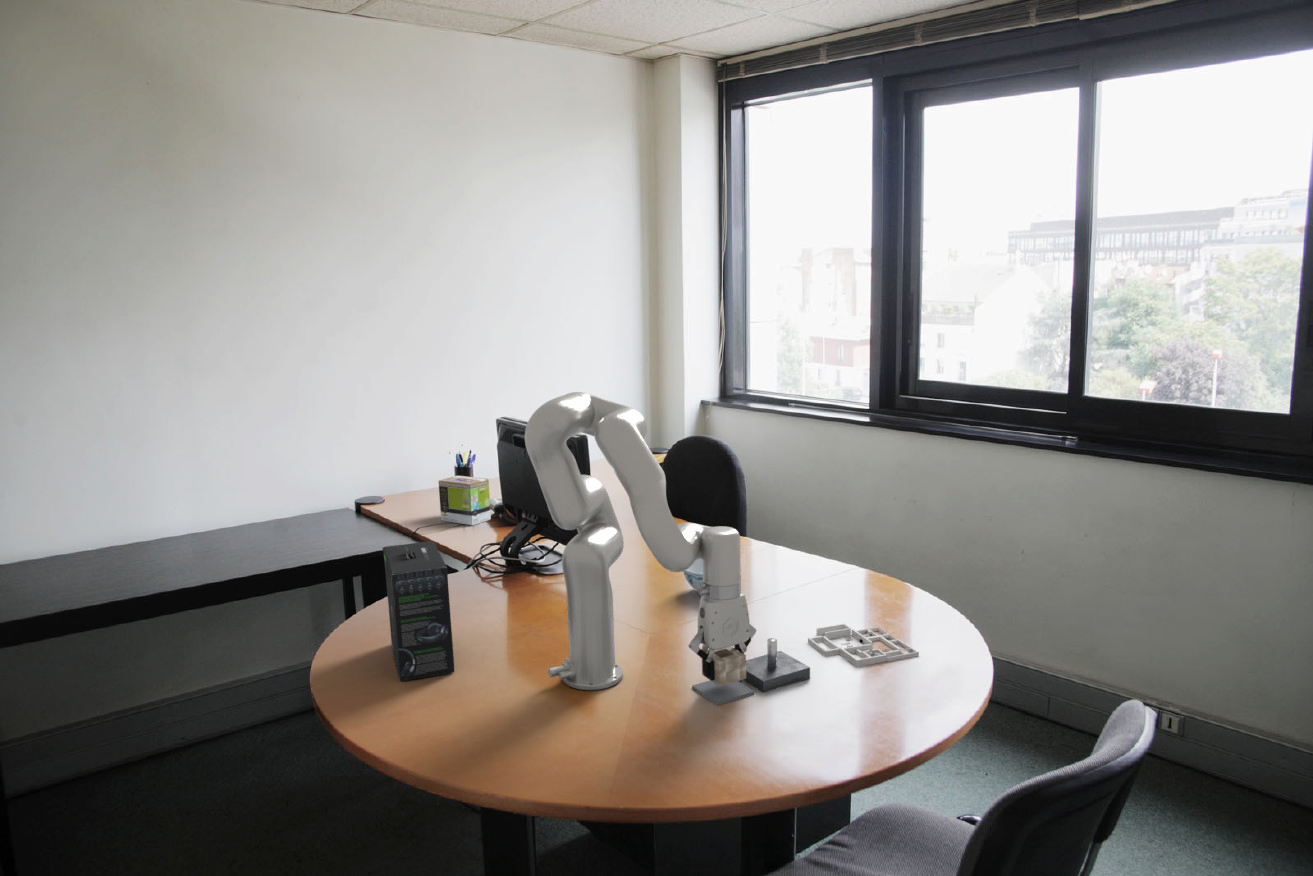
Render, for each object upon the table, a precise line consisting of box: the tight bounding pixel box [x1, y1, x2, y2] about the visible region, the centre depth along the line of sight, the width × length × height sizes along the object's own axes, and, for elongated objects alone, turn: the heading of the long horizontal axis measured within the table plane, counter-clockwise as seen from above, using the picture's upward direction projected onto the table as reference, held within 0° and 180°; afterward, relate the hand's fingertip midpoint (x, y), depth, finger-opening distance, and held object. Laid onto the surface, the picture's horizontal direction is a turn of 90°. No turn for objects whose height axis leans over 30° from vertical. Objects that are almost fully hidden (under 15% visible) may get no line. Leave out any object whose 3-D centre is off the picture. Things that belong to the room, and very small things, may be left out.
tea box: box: [438, 475, 492, 526], centre depth 317 cm, size 15×10×15 cm, turn 58°
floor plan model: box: [807, 623, 920, 667], centre depth 205 cm, size 19×25×2 cm
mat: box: [691, 679, 755, 706], centre depth 185 cm, size 9×9×1 cm
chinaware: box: [682, 559, 703, 597], centre depth 241 cm, size 15×15×8 cm
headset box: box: [382, 540, 455, 682], centre depth 202 cm, size 22×12×26 cm, turn 21°
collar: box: [701, 646, 747, 686], centre depth 184 cm, size 6×6×5 cm
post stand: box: [742, 637, 811, 694], centre depth 191 cm, size 12×10×8 cm
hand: (723, 673), depth 185 cm, fingers closed on collar, 6 cm apart
